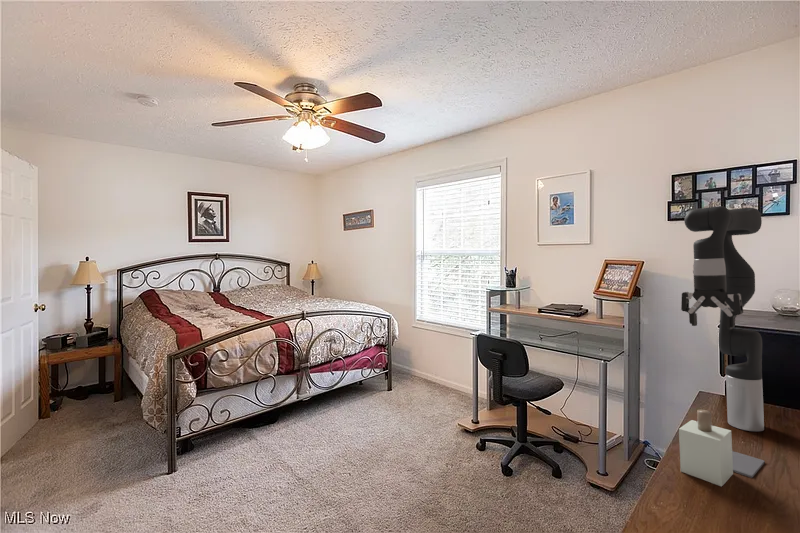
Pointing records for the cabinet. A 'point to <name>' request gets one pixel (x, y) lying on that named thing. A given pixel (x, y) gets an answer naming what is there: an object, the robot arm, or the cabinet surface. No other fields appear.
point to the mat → (746, 464)
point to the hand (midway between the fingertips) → (711, 327)
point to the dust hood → (706, 450)
